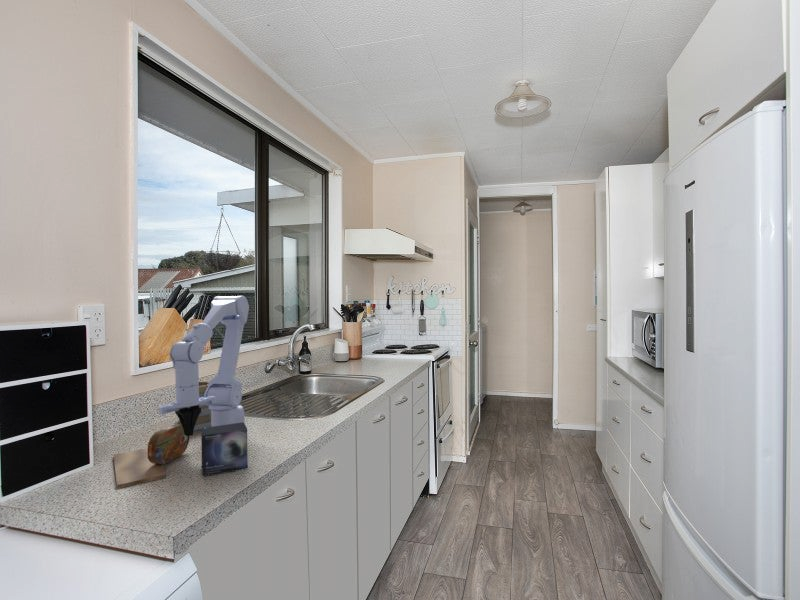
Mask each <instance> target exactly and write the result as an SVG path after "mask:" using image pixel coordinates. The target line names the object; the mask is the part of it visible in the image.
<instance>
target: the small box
mask: <svg viewBox="0 0 800 600" xmlns="http://www.w3.org/2000/svg"><path fill="white" fill-rule="evenodd" d="M200 431H201V432H200V433H201V434H200V436H201V437H200V438H201V440H200V441H201V447H200V448H201V470H202V476H203V477H209V476H213V475H219V474H225V473H231V472H236V470H237V471H242V469H243V470H248V469H247V468H249V465H248V458H249V457H248V427H247V426H246V424H244V422H242V423H235V424H228V425H220V426H213V427H206V428H201V430H200Z"/></svg>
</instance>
